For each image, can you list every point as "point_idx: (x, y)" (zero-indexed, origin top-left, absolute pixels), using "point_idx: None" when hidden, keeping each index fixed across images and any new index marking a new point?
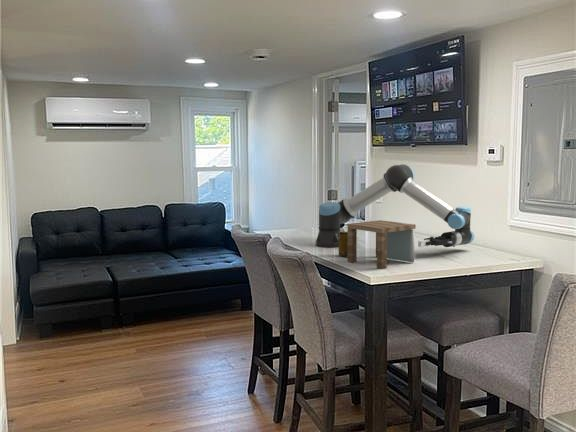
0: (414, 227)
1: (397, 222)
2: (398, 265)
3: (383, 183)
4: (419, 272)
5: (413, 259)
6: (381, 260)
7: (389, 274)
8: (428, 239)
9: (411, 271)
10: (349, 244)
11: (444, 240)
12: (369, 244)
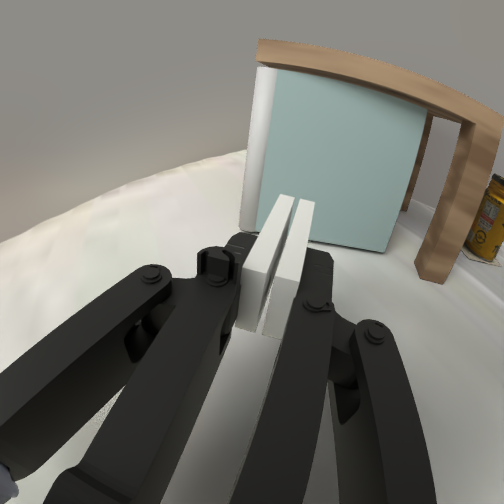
0: (258, 54)
1: (391, 65)
2: None
3: None
4: (173, 170)
5: (240, 212)
6: None
7: (232, 156)
8: (305, 324)
9: (196, 171)
10: None
11: (14, 367)
12: None
